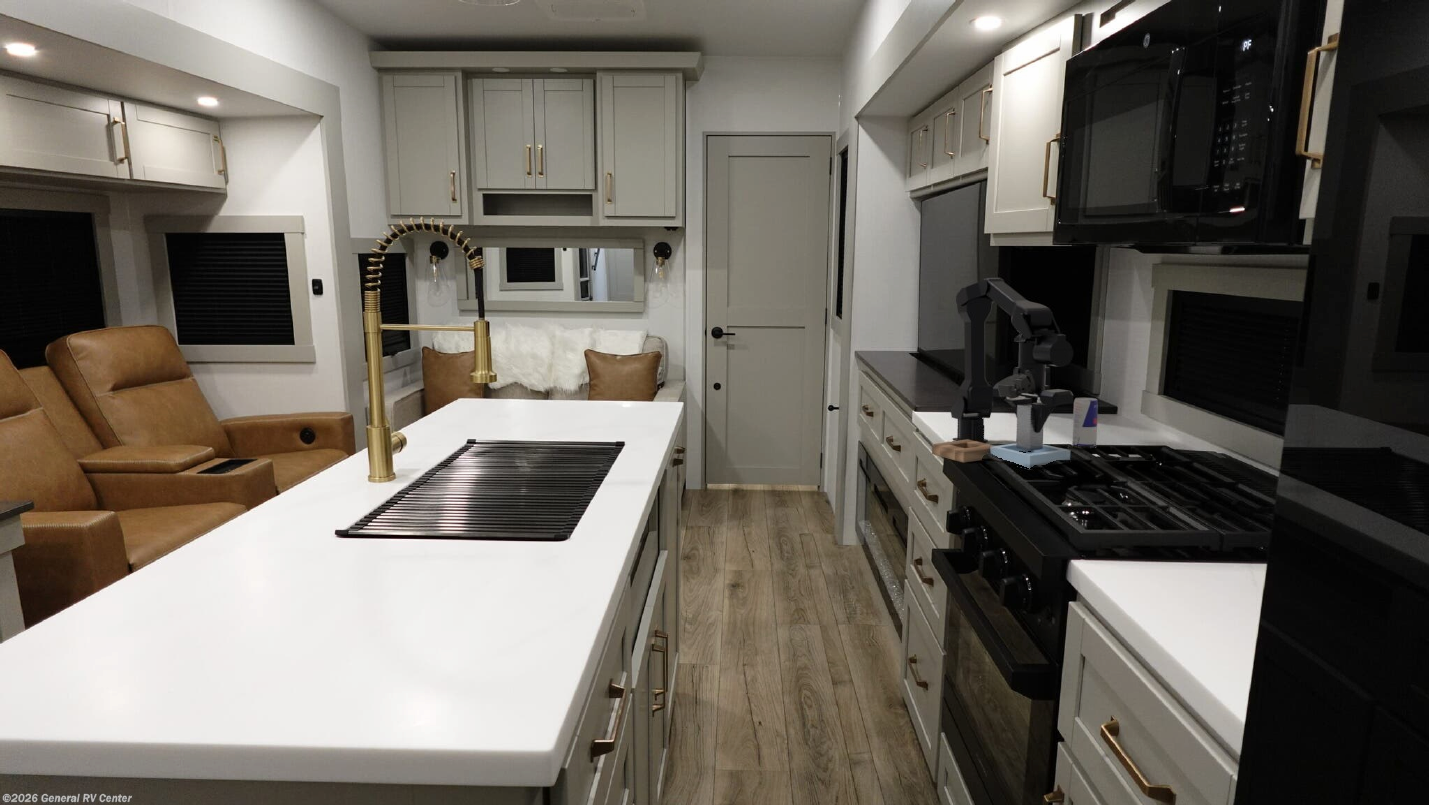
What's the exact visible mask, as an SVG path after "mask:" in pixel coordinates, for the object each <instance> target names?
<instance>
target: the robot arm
mask: <svg viewBox="0 0 1429 805" xmlns="http://www.w3.org/2000/svg"><path fill="white" fill-rule="evenodd" d="M955 302H956V306H957V308H956V309H957V313H958V315H959V317H960V318H961V320H962V321H963V323H964V325H963V327H964V380H963V381H962V383H961V385H960V386H959V388H958V393H957V399H956V401H954V403H953V405H952V407H951V408H950V416H951V419H952V418H953V419H956V420H957V432H956V433H957V434H956V435H957V436H956V437H953V438H952V441H959V440H967V439H968V440H972V441H977V442H981V443H987V442H989V439H986V438H985V423H984V422H985V419H990V418H991V415H992V411H993V407H994V404H995V399H994V397H998V398H1004V399H1003V401H1004V402H1006V403H1008V404H1009V405H1010V406H1011V407H1012V410H1013V411H1014V413H1015V417H1016V418H1017V405H1021V404H1031V406H1032V407H1033V409H1034V426H1035V433H1039V432H1040V431H1041V429H1042V427H1043V428H1044V426H1045V424H1046V422H1047V420H1048V418H1049V417H1050V416H1051V413H1052V412H1053V411H1054V409H1055V408H1056V407H1057V406H1061V405H1070V404H1071V405H1072V404H1074V394H1073V392H1072V391H1071V390H1066V389H1060V388H1056V389H1050V385H1047V384H1046V376H1047V373H1050V372H1051V368H1050V367H1051V366H1052V367H1059V368H1061V367H1066V366H1068V365H1069V364H1070V363H1071V361H1072V359H1073V358H1074V349H1073V347H1072V345H1071V343H1070V342H1069V341H1068V340H1066V338H1067V336H1066V334H1062V333H1061V329H1060V328H1059V326H1058V323H1057V321H1056V320H1055V316H1054V314H1053V312H1052V310H1051V309H1050V307H1047V306H1046V305H1044V304H1041V303H1037V302H1033V301H1030V300H1027V299H1026V298H1025V297H1024V296H1022V295H1021V294H1020V293H1018V292H1017V291H1016V290H1014V288H1012V287H1011V286H1009V284H1007V283H1006V282H1005V280H1004V279H1003V278H1001V277H986V278H983V279H981V280H980V281H978V282H975V283H973V284H970V285H967V286H965V287H964V286H963V287H962V288H961V289H960V290H959V291H958V292H957V294H956V296H955ZM993 303H995V304H996V305H998V307H1000V308H1001V309H1002V310H1004V312H1006V313H1007V314H1008V315H1009V316H1010V318H1011V320H1010V322H1011V324H1012V325H1013V327H1014V328H1015V329H1016V331H1017V332H1018V335H1017V336H1015V338H1014V339H1013V341H1014V342H1016V343H1018V344H1019V345H1018V366H1017V367H1014V368H1013V372H1012V375H1009V376H1007V377H1005V378H1004V379H1002V380H1000V381H998V382H996V384H995V385H994V386H993V385H990V384H989V382H988V381H987V379H986V324H985V323H986V320H988V317H989V316H990V314H991V312H992V309H993V308H992V306H993ZM1049 366H1050V367H1049ZM1032 399H1037V400H1036V402H1033V403H1032Z"/></svg>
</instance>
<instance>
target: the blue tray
mask: <svg viewBox="0 0 1429 805" xmlns="http://www.w3.org/2000/svg"><path fill="white" fill-rule="evenodd" d="M1019 451H1023V452H1026V453H1023V452H1019ZM990 453H991V454H993V455H995V456H997V457H998V458H1002V459H1003V460H1007V461H1010V462H1014V463H1016V464H1019V465H1022V466H1024V467H1027V468H1029V469H1028V470H1031V469H1030V468H1031V467H1033V466H1034V465H1046V464H1048V463H1050V462H1053V461H1056V460H1070V461H1071V449H1067V448H1061V447H1056V446H1053V445H1052V446H1051V445H1049V444H1048V445H1047V444H1043V449H1040V450H1033V451H1031V452H1028V451H1027V450H1023V449H1019V448H1016V442H1015V443H1009V444H1001V445H994V446H992V447H991V448H990ZM1032 453H1033V454H1032Z"/></svg>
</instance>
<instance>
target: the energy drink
mask: <svg viewBox="0 0 1429 805" xmlns="http://www.w3.org/2000/svg"><path fill="white" fill-rule="evenodd" d="M1098 401H1099V400H1098V399H1097V398H1095V397H1094V398H1093V397H1075V399H1074V400H1073V414H1072V415H1073V417H1072V421H1073V422H1072V443H1071V445H1078V446H1096V447H1097V439H1098V438H1097V437H1098V436H1097V435H1098V415H1099V414H1098V412H1099V402H1098Z"/></svg>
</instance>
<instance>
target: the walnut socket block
mask: <svg viewBox="0 0 1429 805" xmlns="http://www.w3.org/2000/svg"><path fill="white" fill-rule="evenodd" d="M992 446H995V445H994V444H989V443H987V442H977V441H972V440H968V439H967V440H959V441H955V440H952V441H944V442H938V443H937V442H936V443H932V444H931V455H934V456H938V457H941V458H945V459H949V460H952V461H957V462H960V463H970V462H976V461H983V460H982V458H983V456H984V455H986V453H990V448H991V447H992Z"/></svg>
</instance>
